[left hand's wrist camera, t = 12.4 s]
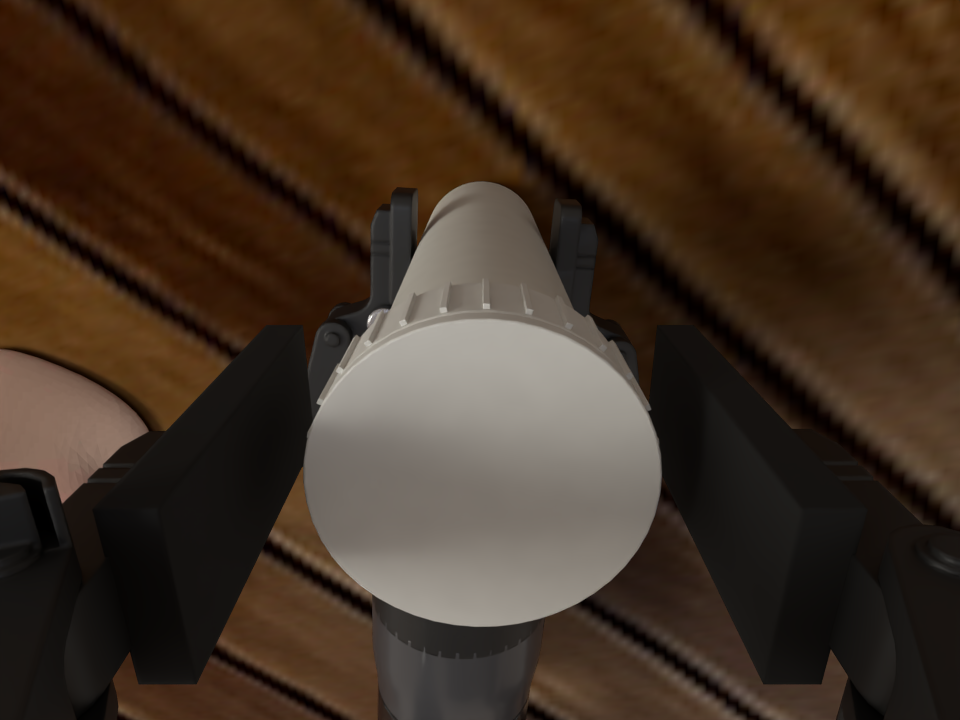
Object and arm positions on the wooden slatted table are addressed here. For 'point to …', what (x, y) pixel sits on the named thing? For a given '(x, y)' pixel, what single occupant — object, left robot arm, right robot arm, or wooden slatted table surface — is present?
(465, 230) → the jar
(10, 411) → the anatomical model
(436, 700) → the right robot arm
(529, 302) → the lid
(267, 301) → the wooden slatted table surface
